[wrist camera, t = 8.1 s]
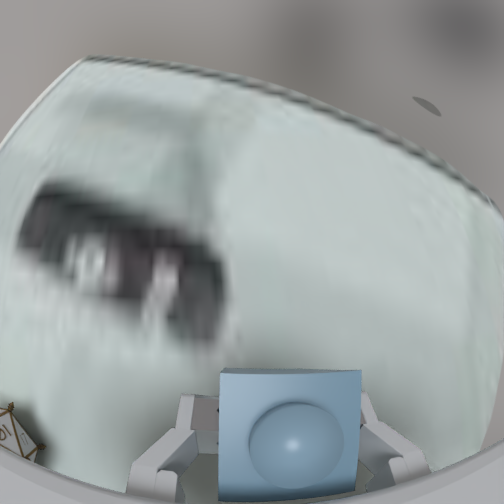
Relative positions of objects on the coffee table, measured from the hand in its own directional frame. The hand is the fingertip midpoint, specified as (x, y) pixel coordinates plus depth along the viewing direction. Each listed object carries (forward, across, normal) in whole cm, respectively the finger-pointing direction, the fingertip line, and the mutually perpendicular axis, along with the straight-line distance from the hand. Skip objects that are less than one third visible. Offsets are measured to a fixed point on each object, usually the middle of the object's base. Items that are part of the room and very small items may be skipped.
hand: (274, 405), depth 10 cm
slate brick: (+3, 0, +4) cm, 5 cm away
